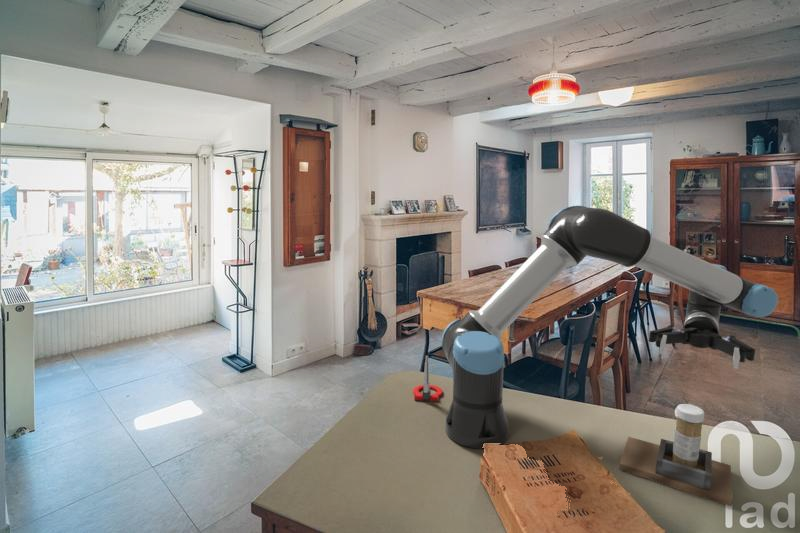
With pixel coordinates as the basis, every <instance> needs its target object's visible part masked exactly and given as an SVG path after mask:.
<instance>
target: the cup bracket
mask: <svg viewBox="0 0 800 533" xmlns="http://www.w3.org/2000/svg"><path fill="white" fill-rule="evenodd" d="M673 444H674V441H671V440H667V439H664V438H661V439H660V443H659V444H657V443H652V442H649V441H646V440H642V439H638V438H635V437H632V436H627V440H626V442H625V446H624V449H623V452H622V455H621V458H620V460H619V465H618V470H619V471H621V470H623V471H622V472H624V471H626V472H625V473H627V472H629V473H628V474H631V475H634V476H638V477H640V478H643V479H646V478H647V479H646V480H649V479H650V480H649V481H652V480H653V482H655V481H657V482H656V483H658V482H660V483H659V484H662V483H663V484H662V485H665V484H666V485H665V486H668V487H671V486H672V487H671V488H675V489H677V490H681V491H684V492H687V493H689V494H693V495H696V496H700V497H702V498H704V499H709V500H711V501H715V502H718V503H719V504H720V503H721V504H724V505H727V506H730V507H732V505H733V483H732V466H731V464H727V463H724V462H721V461H717V460H714V459H712V455H713V452H712V451H709V450H708V451H707V450H705V449H701V448H700V450H699V457H698V461H697V469H696V468H692V467H689V466H685V465H682V464H679V463H675V462H672V458H673Z"/></svg>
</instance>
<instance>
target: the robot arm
mask: <svg viewBox="0 0 800 533" xmlns="http://www.w3.org/2000/svg"><path fill="white" fill-rule="evenodd" d="M540 238H541V239H540V240H541V243H540V245H539V246H538V248H537V249H536V250H534V252H533V253H532V254H531V255H530V256H529V257H528V258H527V259H526V260H525V261H524V262H523V263H522V264H521V265H520V266H519V267H518V268H517V269H516V271H514V272H513V273H512V275H511V276H510V277H508V279H507V280H506V281H505V282H504V283H503V284H502V285H501V286H500V287H499V288H498V289H497V290H496V291H495V292H494V293H493V295H491V296H490V297H489V298H488V299H487V300H486V302H484V303H483V305H482V306H480V308H478V310H469V311H467V313H466V314H465V315H464V316H463V317H462V318H457V319H454V320H453V321H452V322H450V323H449V324H447V326H446V327H445V328H444V331H443V333H442V335H441V345H442V351H443V354H444V356H445V358H446V359H447V361H448V364H449V366H450V367H451V370H452V376H453V378H452V381H453V382H452V383H453V385H452V387H453V388H452V389H453V390H452V401H451V403H450V406H449V410H448V413H447V415H446V417H445V433H446V435H447V436H448V437H449V438H450V439H451V440H452V441H453V442H455V443H457V444H458V445H461V446H464V447H466V448H471V449H481V450H482V447H483V444H484V443H503V444H504V443H505V442H506V441H507V440H508V439H509V436H510V435H509V434H510V433H509V432H510V424H509V421H508V417H507V415H506V412H505V409H504V404H503V393H504V392H503V388H504V363H505V359H506V358H505V351H504V350H505V349H504V344H503V332H504V331H506V330H507V329H508V328H509V326H511V324H513V323H514V322H515V321H516V319H518V317H519V316H520V315H521V314H523V312H524V311H525V310H527V309H528V307H529V306H531V304H532V303H533V302H534V301H535V300H536V299H537V298H538V297H539V296H540V295H541V294H542V293H543V292H544V291H545V290H546V289H547V288H548V287H549V286H550V285H551V283H553V282H554V280H556V279H557V278H558V277H559V276H560V275H561V274H562V272H563V271H564V270H566V269H567V268H569V267H577V266H578V265H579V264H580V263H581V262H582V261H583V260H584V259H585V258H586V257H592V258H596V259H601V260H605V261H608V262H612V263H616V264H618V265H621V266H623V267H626V268H632V267H636V268H638V269H641V270H643V271H645V272H647V273H650V274H652V275H655V276H657V277H659V278H662V279H663V280H666V281H668V282H671V283H674V284H676V285H678V286H681V287H683V288H685V289H687V290H689V293H688V299H687V304H686V312H685V317H684V320H685V321H684V323H683V327H682V328H681V329H676V327H675V326H674V325H671V324H670V325H668V326H666V327H663V328H658V329H654V330H650V331H649V336H648V342H649V343H655V346H656V347H657V348H659V352H658V353H659V355H664V352H665V349H666V346H667V345H671V344H682V345H690V346H691V347H694V348H697V349H708V348H709V349H712V350H713V351H715V350H717V351H720V352H722V353H725V354H727V355H729V356H731V357H732V365H733V369H734V370H739V366H740V362H741V363H745V361H746V360H747V361H749V362H750V361H753V362H754V360H755V355H756V354H755V353H756V349H755V348H753V347H751V345H748V344H746V343H745V342H743V341H741V340H739V339H738V338H737V336H735V335H728V336H726V337H722V336H721V334H719V333H720V331H719V330H720V329H719V327H720V326H719V323H720V316H721V309H722V306H723V307H726V308H727V309H728V308H729V309H731V310H734V311H737V312H739V313H743V314H745V315H747V316H752V317H756V318H764V317H766V316H767V317H768V316H769V315H771V314H772V313H773V312H774V311H775V309H776V307H777V306H778V303H779V296H778V294H777V292H776V291H775V289H773V288H772V287H769V286H767V285H764V284H763V283H756V282H753V281H750V280H748V279H747V278H744V277H741V276H739V275H737V274H736V273H733V272H731V271H729V270H727V268H726V266H724V265H721V264H717V263H710V262H708V261H707V260H704V259H702V258H700V257H697V256H695V255H692V254H691V253H688V252H687V251H684V250H682V249H680V248H678V247H675V246H673V245H672V244H669V243H667V242H664V241H662V240H660V239H657V238H656V237H653V236H652V233H651V231H649V230H648V229H647V228H644V227H642V226H640V225H638V224H636V223H635V222H633V221H630V220H629V219H627V218H625V217H623V216H621V215H620V214H617V213H615V212H613V211H610V210H609V209H604V208H599V207H598V208H597V207H587V206H584V205H572V206H566V207H563V208H561V209H560V210H558V211H557V212H555V213H554V215H552V217H551V218H550V220H549V223H548V228H547V230H546V231H545V232H544V233H543V234H542V235H541V236H540Z"/></svg>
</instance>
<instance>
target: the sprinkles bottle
mask: <svg viewBox="0 0 800 533" xmlns="http://www.w3.org/2000/svg"><path fill="white" fill-rule="evenodd" d="M675 415H676V425H675V430H674V437H673V442H674V444H673V458H672V462H675V463H679V464H682V465H685V466H689V467H692V468H696V469H697V461H698V457H699V450H700V449H701V440H702V428H703V423H704V420H705V411H704V410H703V409H702V408H701V407H699V406H697V405H694V404H690V403H680V404H678V405H677V406H676V414H675Z"/></svg>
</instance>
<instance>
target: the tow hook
mask: <svg viewBox="0 0 800 533" xmlns="http://www.w3.org/2000/svg"><path fill="white" fill-rule="evenodd" d="M429 377H430V363H429V355H425V360H424V382H423V384H420V385H417V386H415V387H414V388H413V389H412V394H413V395H414V400H415V401H423V402H439V398H440V397H441V396H442V395H443V389H442V388H441V386H440V387H439V386H437V385H433V384H430V383H431V382H430V378H429ZM431 390H433V391H435V393H432V394H431ZM420 391H422V392H420Z"/></svg>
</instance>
